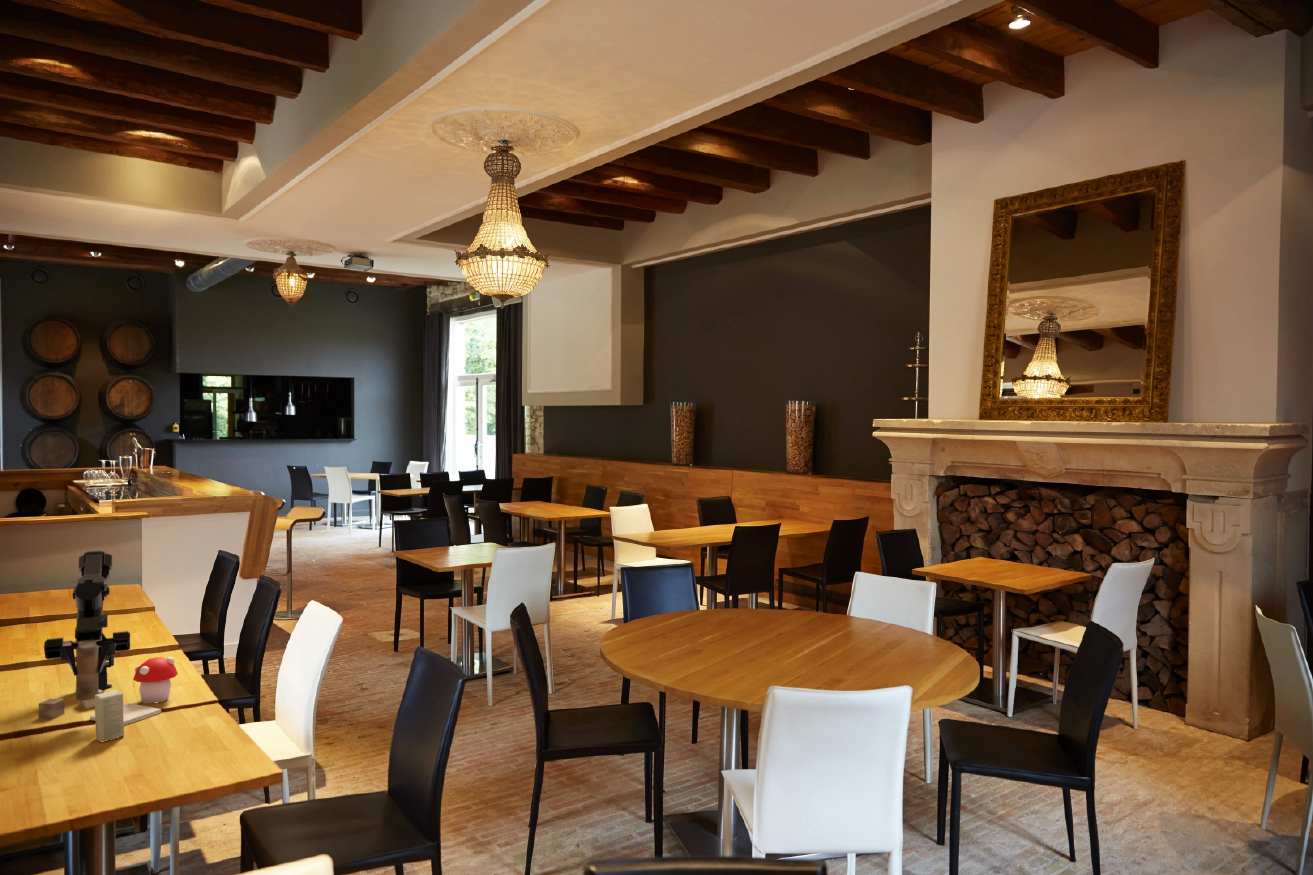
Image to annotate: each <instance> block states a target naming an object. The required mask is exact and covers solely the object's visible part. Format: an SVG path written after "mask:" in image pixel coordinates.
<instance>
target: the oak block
mask: <svg viewBox="0 0 1313 875" xmlns="http://www.w3.org/2000/svg"><path fill="white" fill-rule="evenodd" d="M102 693H104V691H103V689H102V690H100V689H98V694H102ZM78 702H79V704H78V705H79V706H80V707H82V706H83V708H84V709H92V707H93V708H95V698H94V699H90V700H78Z"/></svg>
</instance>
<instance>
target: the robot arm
mask: <svg viewBox="0 0 1313 875" xmlns="http://www.w3.org/2000/svg"><path fill="white" fill-rule="evenodd" d="M113 565H114V562H113V555H112V554H109V553H107V552H105V551H104V550H93V551H92V550H90V551H89V550H88V551H86V552H84V554H83V555H80V556H79V557H78V572H79V573H81V577H80V578H78V579H77V583H76V586H75V585H74V587H73V591H72V599H73V600H75V605H76V609H77V610H76V625H75V628H74V639H75V641H73V640H64V637H55V638H47V639H46V640H45V641H44V643H43V650H44V651H43V652H44V659H47V660H52V659H59V658H60V660H61V661H65V662H67V664H68V665H69V667H70V669H71V672H72V674H73V675H74V677H76V654H75V651H76V648H77V647H78V643H79V642H80V641H84V640H96V645H98V689H100V690H102V691H103V690H104V689H108V688H112V687H113V684H110V683H108V668H111V667H114V666H115V654H116V652H118V653H119V652H124V651H125V652H126V651H129V650H131V633H130V632H129V631H127V630H125V631H116V632H112V637H108V638H107V637H106V635H105V634H104V633H103V629H104V628H108V626H109V625H108V618H109V616H108V613H107V614H104V601H105V598H108V596H109V595H110V594H111V592H110V591H111V588H110V587H109V585H108V583H106V582H107V581H108V580H109V579H110V578H111V575H110V574H111V571H113Z"/></svg>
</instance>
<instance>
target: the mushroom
mask: <svg viewBox="0 0 1313 875" xmlns="http://www.w3.org/2000/svg"><path fill="white" fill-rule="evenodd" d="M178 674H179V673H178V671H177V669H176V666H175V658H174V657H172V656H167V657H166V658H164V657H159V656H158V657H157V656H156V657H151V658H148V659H146V660H145V661H144V662H142V664H140V665H137V666H135V667H134V676H133V679H132V680H133V681H135V682H136V683H140V686H139V689H138V690H139V695H140V700H141V703H142V702H143V703H142V704H144V703H155V702H161V703H163V701H164V702H166V701H165V700H167V699H168V698H169V697H170V693H171V690H172V689H171V687H172V683H171V679H173V678H176V677H177V676H178ZM169 699H170V698H169ZM169 699H168V700H169ZM168 700H167V701H168ZM155 704H156V703H155Z"/></svg>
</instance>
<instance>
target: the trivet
mask: <svg viewBox="0 0 1313 875" xmlns="http://www.w3.org/2000/svg"><path fill="white" fill-rule="evenodd" d="M161 713H162V709H161V708H156V707H151V706H145V705H139V704H135V703H130V702H129V703H126V704H123V716H124V726H127V725H129V724H128V723H130V724H132V723H135V722H138V721H141V720H144V719H147V718H150V717H153V716H157V715H159V714H161ZM89 720H90V721H95V713H94V714H92V715H90V716H89ZM126 724H127V725H126Z"/></svg>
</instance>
